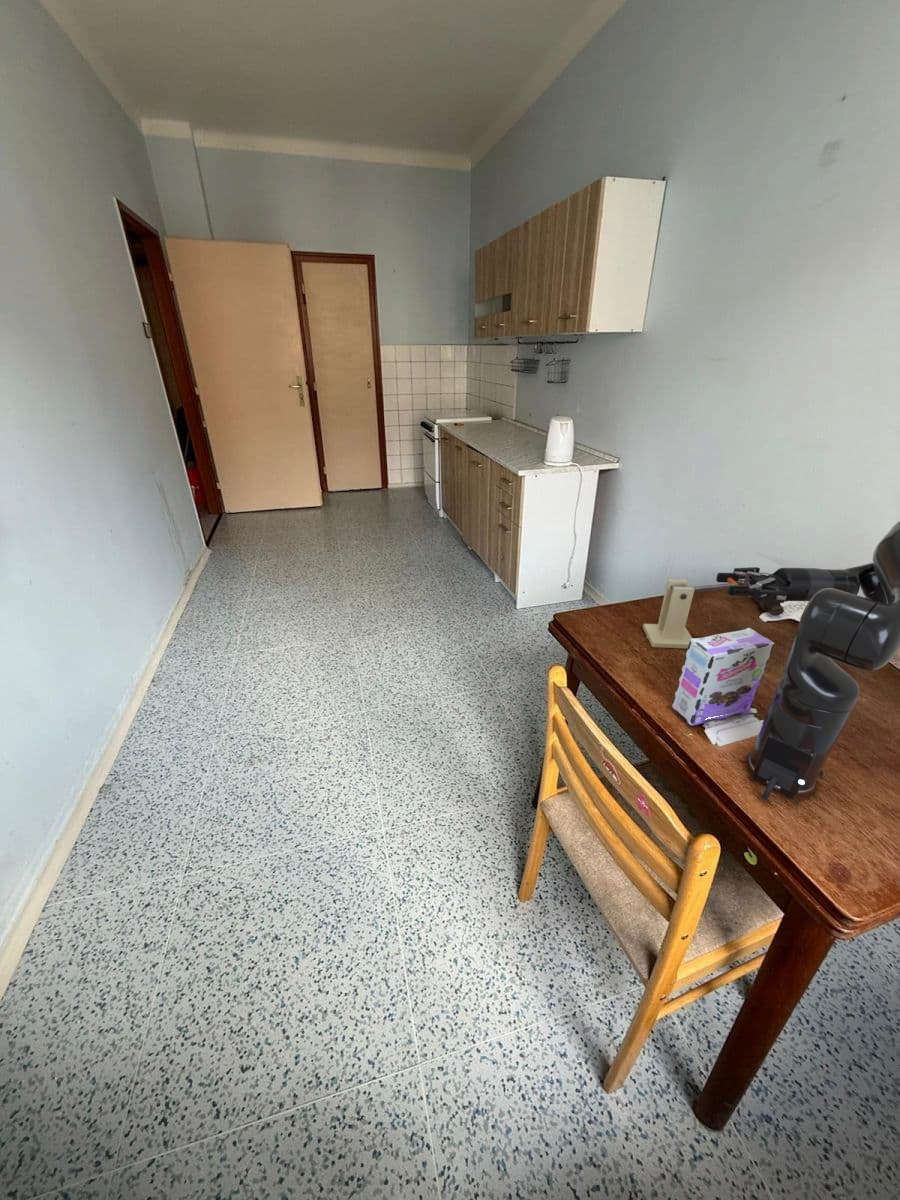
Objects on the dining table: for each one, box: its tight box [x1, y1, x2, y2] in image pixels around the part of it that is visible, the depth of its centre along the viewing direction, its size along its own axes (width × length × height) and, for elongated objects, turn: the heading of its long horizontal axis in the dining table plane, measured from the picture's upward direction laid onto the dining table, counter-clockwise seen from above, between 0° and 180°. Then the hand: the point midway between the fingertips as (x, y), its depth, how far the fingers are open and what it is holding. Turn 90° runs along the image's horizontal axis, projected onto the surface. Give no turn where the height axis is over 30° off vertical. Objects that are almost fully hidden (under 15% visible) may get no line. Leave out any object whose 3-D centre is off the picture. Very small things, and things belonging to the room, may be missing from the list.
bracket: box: [642, 578, 695, 649], centre depth 112 cm, size 10×9×15 cm
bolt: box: [741, 579, 785, 617], centre depth 128 cm, size 6×5×15 cm
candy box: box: [671, 627, 775, 727], centre depth 89 cm, size 14×6×16 cm, turn 105°
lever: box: [671, 578, 739, 594], centre depth 109 cm, size 14×6×2 cm, turn 84°
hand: (723, 583), depth 108 cm, fingers closed on lever, 6 cm apart
